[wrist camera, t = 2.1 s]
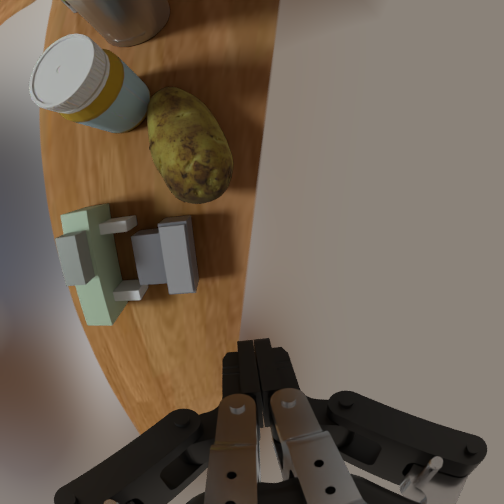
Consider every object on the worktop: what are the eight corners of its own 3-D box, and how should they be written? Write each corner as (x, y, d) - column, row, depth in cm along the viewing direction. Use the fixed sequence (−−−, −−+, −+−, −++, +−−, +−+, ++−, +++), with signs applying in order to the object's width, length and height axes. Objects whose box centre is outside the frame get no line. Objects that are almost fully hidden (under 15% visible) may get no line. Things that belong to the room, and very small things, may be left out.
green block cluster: (85, 207, 30) (48, 219, 22) (133, 199, 30) (104, 209, 22) (105, 303, 33) (79, 335, 25) (151, 301, 34) (133, 336, 26)
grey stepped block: (138, 221, 31) (126, 228, 26) (191, 215, 31) (185, 221, 27) (148, 283, 33) (139, 298, 29) (199, 279, 33) (195, 294, 29)
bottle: (105, 81, 25) (39, 39, 11) (157, 79, 26) (111, 21, 12) (95, 134, 27) (17, 119, 13) (147, 134, 28) (87, 108, 14)
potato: (224, 86, 27) (223, 60, 20) (235, 194, 31) (238, 201, 23) (153, 98, 27) (131, 77, 19) (164, 204, 31) (144, 215, 23)
